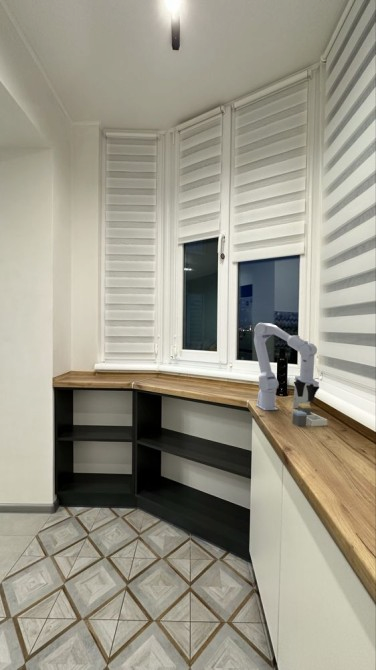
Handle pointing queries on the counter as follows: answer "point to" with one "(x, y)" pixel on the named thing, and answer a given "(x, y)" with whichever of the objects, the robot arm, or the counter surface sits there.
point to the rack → (315, 420)
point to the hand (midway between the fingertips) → (305, 398)
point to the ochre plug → (305, 408)
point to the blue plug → (299, 418)
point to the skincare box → (300, 399)
